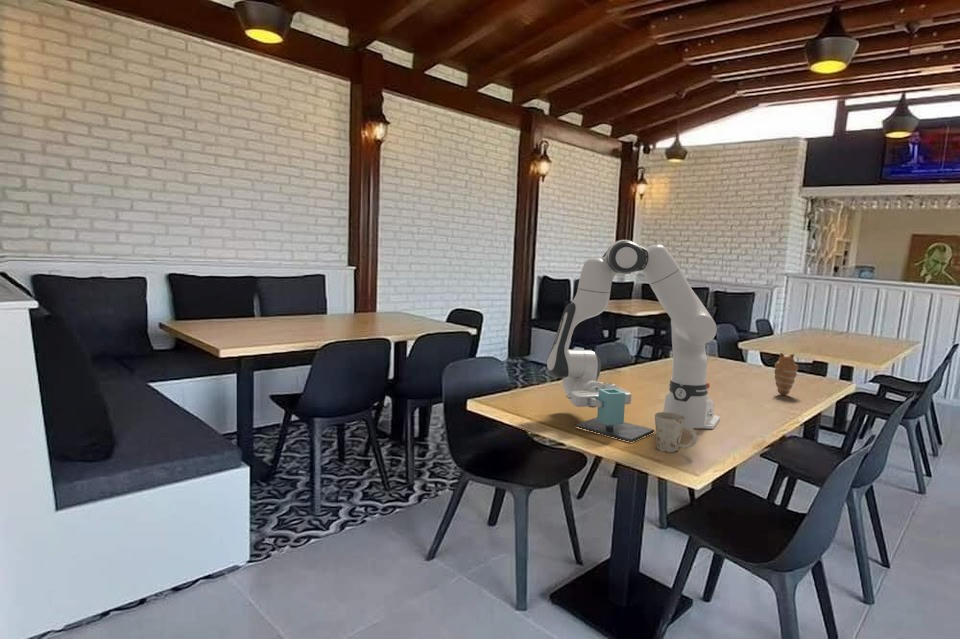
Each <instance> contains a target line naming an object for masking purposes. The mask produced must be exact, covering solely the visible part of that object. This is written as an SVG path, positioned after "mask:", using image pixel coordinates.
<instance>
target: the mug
mask: <svg viewBox="0 0 960 639" xmlns="http://www.w3.org/2000/svg"><path fill="white" fill-rule="evenodd" d="M684 421H685V417H684V416H682V415H680V414H676V413H670V412H663V411H659V412H656V413H655V414H654V423H655V438H656V439H655V440H656V441H655V442H656V448H658V450H659V449H660V450H659V451H661V450H663V451H662V452H665V451H669V452H668V453H676V452H675V451H677V452H678V451H679V449H680V448H681V449H691V448H692V447H694V446H695V445H696V444H697V441H698V435H697V432H696V430H694V429H695V428H692V427H690V426H687V425H684ZM683 430H687V431H689V432H690V434H691V435H692V436H691V437H692V439H691V442H690V443H688V444H687V445H686V444H682V443H681V438H682V434H683Z"/></svg>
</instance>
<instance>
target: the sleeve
mask: <svg viewBox="0 0 960 639" xmlns="http://www.w3.org/2000/svg"><path fill="white" fill-rule="evenodd" d="M598 400H599V401H604V407H598V406H597V416H596V417H597V420H598V421H600V422H602V423H603V424H605V425H619V424H624V421H625V408H626V406H625V405H626V404H625V393H624V392H622V391H620V390H617V389H599V396H598Z"/></svg>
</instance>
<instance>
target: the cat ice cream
mask: <svg viewBox="0 0 960 639" xmlns="http://www.w3.org/2000/svg"><path fill="white" fill-rule="evenodd" d="M794 357H795V354H794V353H792V354H783V353H782V352H780V353H779V358H778V361H776V362H775V364H774V380H775V386H776V387H777V392H778V394H779V395H782V396H787V395H789V394H790V393H791V390H792V388H793V385H794V384H795V378H796V377H797V371H798V370H799V365H798V364H797V363H796V362H795V359H794Z"/></svg>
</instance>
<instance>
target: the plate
mask: <svg viewBox="0 0 960 639" xmlns="http://www.w3.org/2000/svg"><path fill="white" fill-rule="evenodd" d="M574 427H579V428H582V429H586V430H589V431H593V432H596V433H600V434H603V435H606V436H610V437H614V438H617V439H621V440H625V441H629V442H633V441H635V442H637V441H636V440H638V439H640V438H642V437H644V436H646V437H648V436H647V435H649V434H651V433H653V432H654V433H655V429H654V428H649V427H645V426H641V425H637V424H633V423H629V422H626V421H625V422H624V424H619V425H605V424H603V423H602V422H600V421H598V420H597V416H596V417H593V418H591V419H588V420H584V421H582V422H579V423H576V424H575V425H574ZM654 433H653V434H654ZM651 435H652V434H651ZM606 436H605V437H606ZM649 436H650V435H649ZM610 437H609V438H610ZM644 438H645V437H644ZM617 439H616V440H617ZM642 439H643V438H642ZM621 440H620V441H621ZM640 440H641V439H640ZM625 441H624V442H625ZM638 441H639V440H638ZM633 443H634V442H633Z"/></svg>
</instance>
